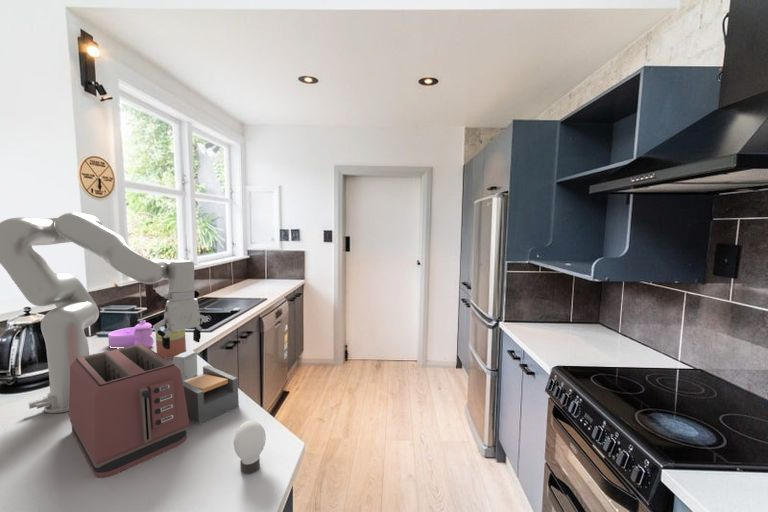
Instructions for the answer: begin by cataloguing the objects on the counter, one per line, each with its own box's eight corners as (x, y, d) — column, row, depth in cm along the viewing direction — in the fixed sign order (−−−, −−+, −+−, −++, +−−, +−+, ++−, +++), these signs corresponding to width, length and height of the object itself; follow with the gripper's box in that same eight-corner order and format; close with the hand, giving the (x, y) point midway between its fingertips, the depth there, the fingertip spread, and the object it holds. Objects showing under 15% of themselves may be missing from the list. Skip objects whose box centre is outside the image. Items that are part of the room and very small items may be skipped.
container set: (102, 346, 161) (100, 319, 160) (137, 337, 175) (136, 312, 174) (130, 354, 150) (128, 325, 149) (165, 344, 163) (164, 317, 162)
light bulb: (229, 479, 73) (227, 430, 72) (242, 458, 79) (240, 413, 78) (260, 478, 73) (258, 430, 72) (270, 457, 79) (269, 413, 79)
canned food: (191, 352, 151) (189, 326, 151) (164, 360, 142) (162, 332, 141) (178, 347, 157) (177, 323, 157) (151, 355, 148) (150, 328, 147)
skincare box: (184, 391, 113) (183, 357, 112) (174, 390, 114) (172, 356, 113) (198, 384, 119) (197, 351, 118) (188, 382, 120) (187, 350, 119)
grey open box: (199, 424, 94) (197, 393, 93) (170, 405, 104) (168, 377, 103) (238, 406, 103) (237, 377, 103) (208, 390, 114) (207, 365, 113)
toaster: (98, 487, 71) (92, 395, 69) (69, 429, 92) (63, 358, 90) (194, 443, 85) (190, 365, 84) (150, 402, 107) (146, 340, 105)
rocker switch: (203, 398, 96) (202, 388, 96) (179, 391, 104) (178, 381, 104) (228, 388, 102) (227, 378, 102) (204, 382, 111) (203, 373, 111)
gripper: (158, 301, 105) (158, 354, 106) (212, 294, 119) (212, 341, 120) (148, 297, 109) (148, 349, 110) (202, 291, 123) (202, 337, 124)
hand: (182, 344), depth 115 cm, fingers open, 9 cm apart
